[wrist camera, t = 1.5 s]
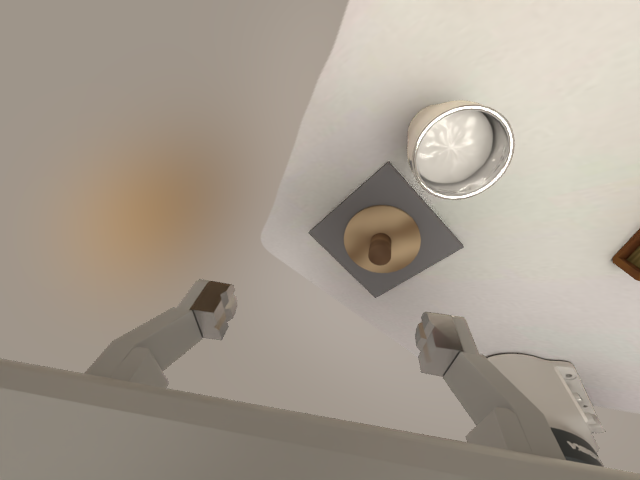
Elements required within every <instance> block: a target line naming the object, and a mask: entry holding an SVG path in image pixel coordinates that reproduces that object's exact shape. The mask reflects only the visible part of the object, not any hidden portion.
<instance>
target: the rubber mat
mask: <svg viewBox="0 0 640 480" xmlns="http://www.w3.org/2000/svg"><path fill="white" fill-rule="evenodd" d="M374 205H389V206H393V207H396V208H399V209H401V210H403V211H405V212H406V213H407V214H409V215H410V216H411V217H412V218H413V220H414V221H415V222H416V224H417V226H418V228H419V232H420V237H421V244H420V249H419V252H418V254H417V256H416V257H415V259H414V260H413V261H412V262H411V263H410V264H409V265H407V266H406V267H404V268H402V269H400V270H398V271H395V272H390V273H376V272H371V271H368V270H366V269H364V268H362V267H360V266H359V265H357V264H356V263H355V262H354V261H353V260H352V259H351V258H350V257H349V255H348V253H347V251H346V249H345V245H344V233H345V230H346V227H347V225H348V223H349V221H350V220H351V218H352V217H353V216H354V215H355V214H356V213H358V212H359V211H361V210H363V209H364V208H367V207H370V206H374ZM309 234H310V235H311V236H312V237H313V238H314V239H315V240H316V241H317V242H318V243H319V244H320V245H321V246H323V247H324V248H325V249H326V250H327V251H328V252H329V253H330V254H331V255H332V256H333V257H334V258H335V259H336V260H337V261H338V262H339V263H340V264H341V265H342V266H343V267H344V268H345V269H346V270H347V271H348V272H349V273H350V274H351V275H352V276H353V277H354V278H355V279H356V280H357V281H358V282H359V283H361V284H362V285H363V286H364V287H365V288H366V289H367V290H368V291H369V292H370V293H371V294H372V295H373V296H374V297H375V298H376V297H378V296H380V295H382V294H383V293H385V292H387V291H388V290H390V289H392V288H394V287H395V286H397V285H399V284H401V283H402V282H404V281H406V280H408V279H409V278H411V277H413V276H415V275H416V274H418V273H420V272H421V271H423V270H425V269H427V268H428V267H430V266H432V265H434V264H435V263H437V262H439V261H441V260H442V259H444V258H446V257H448V256H449V255H451V254H453V253H454V252H456V251H458V250H460V249H461V248H463V247H464V246H463V245H462V244H461V242H460V241H459V240H458V239H457V238H456V237H455V236H454V235H453V233H452V232H451V231H450V230H449V229H448V228H447V227H446V226H445V224H444V223H443V222H442V221H441V220H440V219H439V218H438V217H437V215H436V214H435V213H434V212H433V211H432V210H431V209H430V208H429V206H428V205H427V204H426V203H425V202H424V201H423V200H422V199H421V197H420V196H419V195H418V194H417V193H416V192H415V191H414V190H413V188H412V187H411V186H410V185H409V184H408V183H407V182H406V181H405V179H404V178H403V177H402V176H401V175H400V174H399V173H398V172H397V170H396V169H395V168H394V167H393V166H392V165H391V164H390V163H389V162H387V163H386V164H385V165H384V166H383V167H382V168H381V169H380V170H378V171H377V172H376V173H375V174H374V175H373V176H372V177H370V178H369V179H368V180H367V181H366V182H365V183H364V184H363V185H361V186H360V187H359V188H358V189H357V190H356V191H355V192H354V193H352V194H351V195H350V196H349V197H348V198H347V199H346V200H344V201H343V202H342V203H341V204H340V205H339V206H338V207H337V208H335V209H334V210H333V211H332V212H331V213H330V214H329V215H328V216H326V217H325V218H324V219H323V220H322V221H321V222H320V223H319V224H317V225H316V226H315V227H314V228H313V229H312V230H311V231H310V232H309Z"/></svg>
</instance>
